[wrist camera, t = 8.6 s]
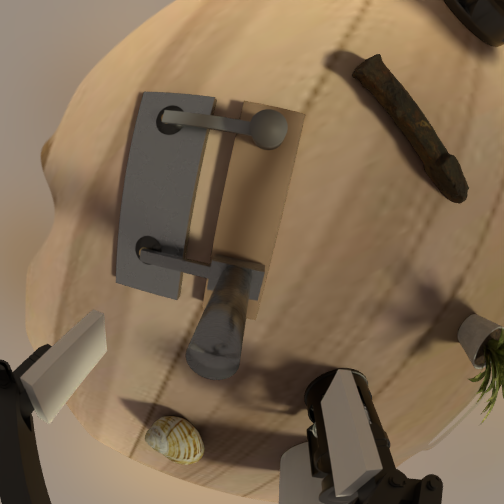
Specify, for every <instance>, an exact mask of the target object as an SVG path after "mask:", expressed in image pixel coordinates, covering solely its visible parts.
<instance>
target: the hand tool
mask: <svg viewBox="0 0 504 504" xmlns="http://www.w3.org/2000/svg"><path fill="white" fill-rule="evenodd" d="M352 77H353V78H356V79H359V80H360V81H361V84H362V86H363V87H364V88H367V89H368V90H369V91H370V92H371V93H372V94H373V95H374V96H375V97H376V99H377V100H378V102H379V103H380V104H381V105H382V106H383V108H385V109H386V110H387V112H388V113H389V114H390V116H391V117H392V118H393V120H394V122H395V124H396V125H398V127H399V128H400V129H401V130H402V132H403V133H404V135H405V136H406V137H407V139H408V140H409V141H410V143H411V144H412V146H413V147H414V149H415V150H416V152H417V153H418V155H419V157H420V158H421V160H422V161H423V163H424V170H425V171H426V173H427V174H428V176H429V177H430V178H431V180H432V181H433V182H434V183H435V185H436V186H437V187H438V188H439V189H440V190H441V192H442V193H443V194H444V195H445V196H446V197H447V198H448V199H449V200H450V201H452V202H454V203H462V202H463V201H465V200H466V198H467V191H468V189H469V187H468V185H467V182H466V180H465V177H464V175H463V172H462V170H461V167H460V164H459V162H458V160H457V159H456V157H455V156H454V155H450V154H449V153H448V151H447V149H446V148H445V146H444V145H443V144H442V142H441V141H440V139H439V138H438V136H437V134H436V132H435V131H434V129H433V127H432V126H431V124H430V123H429V121H428V120H427V118H426V117H425V115H424V114H423V112H422V111H421V110H420V108H419V107H418V105H417V104H416V103H415V101H414V100H413V99H412V97H411V96H410V95H409V93H408V92H407V91H406V90H405V88H404V87H403V86H402V85H401V83H400V82H399V81H398V80H397V79H396V78H395V77H394V75H393V74H392V73H391V72H390V70H389V69H388V68H387V67H386V66H385V64H384V63H383V61H382V58H381V55H380V54H376V55H374V56H373V57H370V58H368V59H366V60H365V61H364V62H362V63H361V64H360V65H359V66H358V67H357V68H356V69H355V71H354V72H353V74H352Z"/></svg>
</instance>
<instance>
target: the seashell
mask: <svg viewBox="0 0 504 504" xmlns="http://www.w3.org/2000/svg"><path fill="white" fill-rule="evenodd" d="M145 441H146V442H147V443H148V444H149V445H150V446H151V447H152V448H153V449H154V450H156V451H158V452H159V453H162V454H163V455H164V456H165V457H167V458H168V459H170V460H171V461H173V462H175V463H178V464H184V465H187V464H192V463H195V462H197V461H199V460H200V459H201V458H202V456H203V454H204V443H203V441H202V439H201V437H200V434H199V432H198V431H197V430H196V429H195V427H194V426H193V425H192V424H191V423H189V422H188V421H187V420H185V419H182V418H180V417H175V416H165V417H161V418H160V419H158V420H157V421H156V422H155V423H154V424H153V425H152V427H151V428H150V429H149V430H148V431H147V433H146V435H145Z"/></svg>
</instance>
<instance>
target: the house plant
mask: <svg viewBox="0 0 504 504" xmlns="http://www.w3.org/2000/svg"><path fill="white" fill-rule="evenodd" d="M458 340H459V342H460V344H461V345H462V347H463V349H464V350H465V352H466V354H467V355H468V357H469V359H470V361H471V362H472V364H473V366H474V368H476V369H481V368H482V369H483V368H484V367H486V370H485V371H484V372H483V373H480V374H479V375H477V376H475V377H474V378H471V379H469V380H470V381H472V382H477V381H479V380H481V379H482V378H483V377H484V376H485V375H486V376H485V378H484V381H483V383H482V385H481V387H480V389H479V391H478V392H477V393H476V394H478V393H480V392H482V391H483V392H482V395H481V397H480V398H479V400H480V399H481V398H482V396H483V395H484V393H486V392H488V391H489V390H491V389H492V387H493V391H492V396H491V398H490V399H489V400H488V401H490V402H489V404H488V405H487V406H486V408H487V409H488V408H489V407H490V405H491V407H490V409H489V412H488V413H487V415H486V417H485V418H484V419H483V421H484V420H485V419H486V418H487V416H488V415H489V413H490V412H491V410H492V408H493V406H494V403H495V401H496V397H497V393H498V390H499V388H500V386H501V384H502V392H503V398H504V327H502V326H500V325H498V324H496V323H494V322H492V321H490V320H487V319H485V318H483V317H481V316H479V315H477V314H472V315H470V316H469V317H468V318H466V319H465V321H464V322H463V323H462V325H461V327H460V329H459V331H458ZM491 367H492V381H491V384H490V386H489V387H488V389H487V390H486V387H487V385H488V382H489V379H490V374H491ZM496 373H497V378H496ZM495 380H496V389H495ZM485 390H486V392H485ZM479 400H478V401H479ZM478 401H477V402H478ZM488 401H487V402H488ZM486 408H485V409H486ZM485 409H484V410H485ZM487 409H486V410H487ZM486 410H485V411H486ZM483 421H482V422H483Z"/></svg>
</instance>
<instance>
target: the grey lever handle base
mask: <svg viewBox="0 0 504 504" xmlns="http://www.w3.org/2000/svg"><path fill="white" fill-rule="evenodd" d="M304 118H305V114H303V113H299V112H295V111H291V110H287V109H282V108H278V107H273V106H269V105H264V104H259V103H253V102H248V101H244V104H243V108H242V112H241V116H240V120H238V119H232V118H226V117H220V116H213V115H206V114H198V113H190V112H180V111H170V110H165V111H164V114H163V115H162V116H161V121H162V122H163V123H165V124H176V125H185V126H193V127H200V128H207V129H214V130H220V131H226V132H232V133H236V137H235V141H234V146H233V150H232V155H231V159H230V164H229V168H228V173H227V177H226V182H225V187H224V192H223V196H222V201H221V206H220V211H219V216H218V221H217V227H216V232H215V237H214V242H213V248H212V253H211V259H210V264H211V262H212V259H213V258H214V256H215V255H216V254H219V255H223V256H228V257H232V258H236V259H241V260H245V261H250V262H254V263H259V264H263V265H265V274H264V278H263V282H262V286H261V290H260V294H259V298H258V301H255V300H251V299H249V301H248V308H247V315H246V318H248V319H253V320H256V317H257V313H258V309H259V305H260V301H261V298H262V294H263V290H264V286H265V282H266V278H267V274H268V270H269V266H270V262H271V258H272V254H273V250H274V246H275V242H276V238H277V234H278V230H279V226H280V222H281V218H282V214H283V209H284V205H285V201H286V197H287V193H288V188H289V184H290V180H291V175H292V171H293V167H294V162H295V158H296V154H297V149H298V145H299V140H300V136H301V131H302V127H303V122H304ZM208 279H209V278H207V282H206V288H205V294H204V300H203V306H202V308H204V309H205V308H206V306H207V303H208V301H209V299H210V297H211V294H212V292H213V291H211V290H207V285H208Z"/></svg>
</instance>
